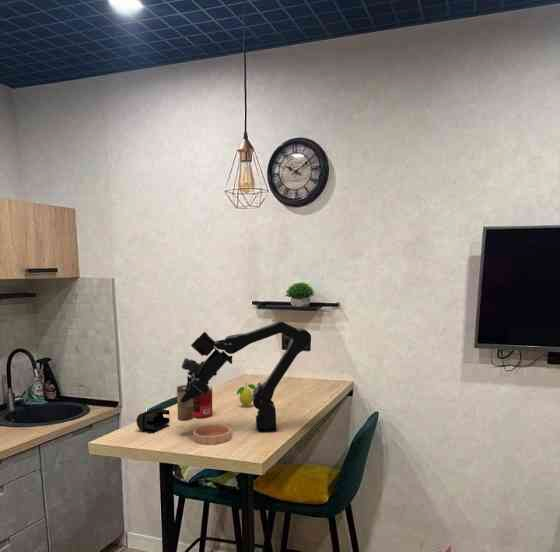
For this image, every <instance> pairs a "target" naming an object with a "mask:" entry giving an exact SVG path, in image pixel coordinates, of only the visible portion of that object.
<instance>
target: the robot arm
mask: <svg viewBox="0 0 560 552" xmlns="http://www.w3.org/2000/svg"><path fill="white" fill-rule="evenodd" d="M278 334H282V335H284V336H286V337H288V338H290V340H289V344H288V346H287V348H286V350H285V351H284V353H283V355H282V356H281V358H280V359H279V361H278V362H277V364H276V365H275V367H274V368H273V370H272V371H271V373H270V375H269V376H268V377H267V378H266V380H265V381H264V382H263V383H260V382H258V383H257V385H256V386H255V387H256V389H255V390H252V395H253V397H252V398H253V401H252V404H253V407H254V408H255V409H256V410H257V415H255V427H256V429H257V432H258V433H265V432H277V431H278V429H277V411H276V410H277V409H276V406H275V402H274V401H273V400H272V398H273V395H274V394H275V393H274V392H275V390H276V388H277V386H278V385H279V383H280V382H281V380H282V379H283V377H284V375H285V374H286V372H287V371H288V370H289V368H290V367H291V365H292V363H293V362H294V360H295V359H296V358H297V356H298V355H299V354H300V353H301V352H303V351H304V350H305V349H306V348H307V346H308V345H309V344H311V341H312V336H311V333H310V332H309V331H308V330H306V328H302V327H299V328H297V327H294V326H293V325H289V324H288V323H286V322H284V320H283V321H282V320H277V321H276V322H274V323H272V324H269V325H265V326H263V327H260V328H257V329H254V330H251V331H249V332H245V333H236V334H233V335H232V334H231V335H227V336H226V337H225V338H224V339H220V340H214V339H213V338H212V336H210V335H209V334H208V333H207V332H206V331H204V332H202V333H201V334H200V336H199V337H197V338H196V339H195V340H194V341H193V342H192V344H191V345H190V346H191V348H193V349H194V350H195V351H196V352H197V353H198V354H199V355H200V356H202V357H203V356H206V357H207V356H208V357H207V358H206V359H205V360H203V361H201V362H200V363H199V362H197V361H196V360H193V358H191V359H189V358H186V357H185V358H184V359H183V362H182V364H181V368H182V370H185V371H188V372H187V375H186V380H187V383H186V384H185V385H189V388H188V390H187V391H186V393H185V394H184V396H183V397H182V399H181V402H182V403H184V402H186V401H188V400H190V399H192V398H194V397H196V396H199V395H201V394H205V395H206V394H207V393H208V391H209V386H210V385H209V384H210V380H211V379H213V377H216V376H217V375H218V374H217V373H218V372H219V370H220V369H221V368H222V367H223V366H224V365H225V364H226V363H227V362H228V363H229V364H230V365H231V364H232V365H233V356H232V355H233V354H235V353H238V352H239V351H240V350H242V349H245V348H246V347H247V346H249V345H250V344H253V343H257V342H259V341H262V340H265V339H267V338H270V337H273V336H275V335H278ZM220 350H221V351H220ZM212 351H213V352H212Z"/></svg>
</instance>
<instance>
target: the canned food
mask: <svg viewBox="0 0 560 552" xmlns="http://www.w3.org/2000/svg"><path fill="white" fill-rule="evenodd" d="M208 386H209V391H208V393H207V394H206V395H205V394H201V395H199V396H196V397H194V398H193V419H208V418H210V417H212V415H213V387H212V386H211V385H208Z"/></svg>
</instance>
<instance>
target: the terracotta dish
mask: <svg viewBox="0 0 560 552" xmlns="http://www.w3.org/2000/svg"><path fill="white" fill-rule="evenodd" d="M232 431H233V430H232V427H229V426H228V425H224V424H208V425H207V424H206V425H202V426H198V427H197V428H195V429H193V433H192V434H193V435H192V436H193V441H194V442H195V443H196V444H200V445H203V446H204V445H206V446H207V445H208V446H211V445H213V446H214V445H221V444H224V443H227V442H229V441H231V439H232V436H233V435H232V433H233V432H232Z"/></svg>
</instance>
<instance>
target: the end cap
mask: <svg viewBox="0 0 560 552" xmlns="http://www.w3.org/2000/svg"><path fill="white" fill-rule="evenodd" d="M164 415H166V416H167V415H168V416H169V415H170V410H169V409H163V408H162V406H158V407H154V408H152V409H149V410H147V411H145V412H141V413H140V414H138V415H137V417H136V419H135V420H136V421H135V422H136V426H137V428H138V429H139V430H140V431H141V432H143V433H145V432H147V433H146V434H151V433H153V434H155V432H156V433H158V432H160V431H162V430H164V428H165V429H166V427H167V428H168V427H169V428H170V425H169V424H170V417H165V416H164ZM159 430H160V431H159ZM157 431H158V432H157Z"/></svg>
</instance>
